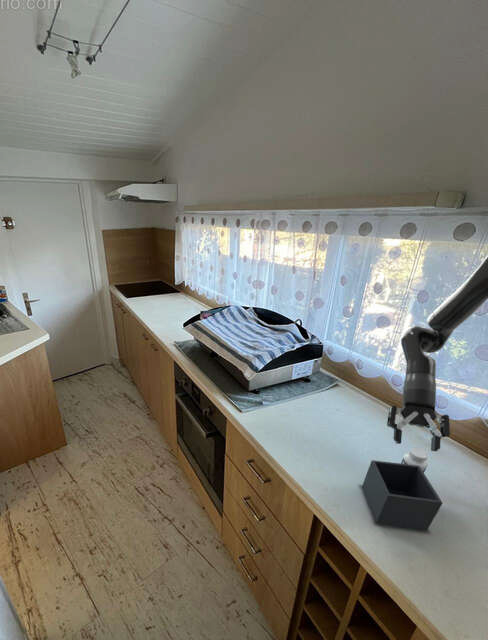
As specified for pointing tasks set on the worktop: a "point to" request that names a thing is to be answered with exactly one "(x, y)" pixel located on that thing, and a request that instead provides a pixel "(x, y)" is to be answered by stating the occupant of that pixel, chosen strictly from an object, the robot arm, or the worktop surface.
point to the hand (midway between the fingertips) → (416, 447)
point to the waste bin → (400, 495)
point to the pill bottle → (416, 458)
